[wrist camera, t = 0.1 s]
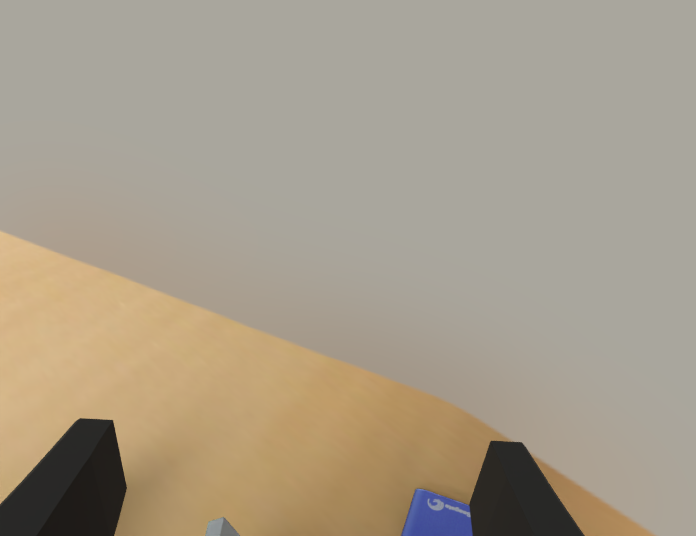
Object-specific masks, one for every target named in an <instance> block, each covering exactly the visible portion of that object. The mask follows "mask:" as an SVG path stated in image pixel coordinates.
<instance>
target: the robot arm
mask: <svg viewBox="0 0 696 536" xmlns="http://www.w3.org/2000/svg"><path fill="white" fill-rule="evenodd" d="M126 489H127V487H126V482H125V477H124V472H123V467H122V462H121V457H120V452H119V448H118V443H117V438H116V433H115V428H114V423H113V420H101V419H82V418H80V419H78V420H77V421H76V422H75V423H74V424H73V425H72V426H71V427H70V428H69V429H68V431H67V432H66V433H65V434H64V435H63V436H62V437H61V438H60V440H59V441H58V442H57V443H56V444H55V445H54V446H53V448H52V449H51V450H50V451H49V452H48V453H47V454H46V455H45V457H44V458H43V459H42V460H41V461H40V462H39V463H38V464H37V465H36V467H35V468H34V469H33V470H32V471H31V472H30V473H29V474H28V475H27V476H26V477H25V479H24V480H23V481H22V482H21V483H20V484H19V485H18V486H17V487H16V488H15V489H14V490H13V491H12V492H11V493H10V495H9V496H8V497H7V498H6V499H5V500H4V501H3V502H2V503H1V504H0V536H114V534H115V530H116V527H117V523H118V520H119V516H120V512H121V508H122V504H123V501H124V497H125V493H126ZM469 507H470V516H471V525H472V534H473V536H584V534H583V533H582V531H581V530H580V529H579V527H578V526H577V524H576V523H575V521H574V520H573V518H572V517H571V516H570V514H569V513H568V511H567V510H566V508H565V507H564V505H563V504H562V502H561V501H560V499H559V498H558V496H557V495H556V493H555V492H554V490H553V489H552V487H551V486H550V484H549V483H548V481H547V480H546V478H545V476H544V475H543V473H542V472H541V470H540V469H539V467H538V466H537V464H536V462H535V461H534V459H533V458H532V456H531V455H530V453H529V451H528V450H527V448H526V447H525V446H524V445H523V443H521V442H504V441H491V442H490V445H489V448H488V451H487V454H486V457H485V460H484V462H483V465H482V468H481V471H480V474H479V477H478V480H477V483H476V486H475V489H474V492H473V495H472V498H471V501H470V504H469Z"/></svg>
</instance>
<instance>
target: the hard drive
mask: <svg viewBox="0 0 696 536" xmlns="http://www.w3.org/2000/svg"><path fill="white" fill-rule="evenodd" d="M401 536H473V534H472V525H471V516H470V507H469V505H467V504H464V503H462V502H459V501H456V500H453V499H450V498H447V497H444V496H441V495H438V494H435V493H433V492H430V491H427V490H423V489H416V490H415V493H414V496H413V499H412V502H411V506H410V509H409V512H408V516H407V519H406V522H405V525H404V528H403V532H402V535H401Z"/></svg>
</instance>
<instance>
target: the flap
mask: <svg viewBox="0 0 696 536" xmlns="http://www.w3.org/2000/svg"><path fill="white" fill-rule="evenodd" d="M205 536H240V535H239V534H238V533H237V532H236V530H235V529H234V528H233V527H232V526H231V525H230V523H229V522H228V521H227V520H226V519H225V518H224V517H222V518H219V519H216V520H213V521H210V522H208V526H207V531H206V535H205Z"/></svg>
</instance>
